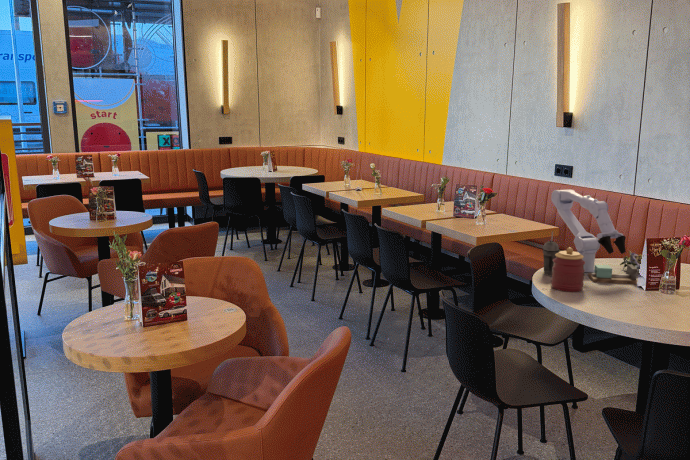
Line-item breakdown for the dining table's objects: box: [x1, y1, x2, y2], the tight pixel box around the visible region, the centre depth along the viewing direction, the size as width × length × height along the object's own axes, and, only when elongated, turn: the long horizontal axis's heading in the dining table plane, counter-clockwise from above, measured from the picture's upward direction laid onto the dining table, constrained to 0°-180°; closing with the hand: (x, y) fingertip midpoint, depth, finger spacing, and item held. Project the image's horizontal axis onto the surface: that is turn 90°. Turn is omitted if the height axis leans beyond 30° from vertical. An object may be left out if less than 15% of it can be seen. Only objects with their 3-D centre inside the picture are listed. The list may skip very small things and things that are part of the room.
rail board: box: [587, 263, 638, 285], centre depth 266 cm, size 18×10×6 cm, turn 80°
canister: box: [550, 246, 585, 293], centre depth 253 cm, size 13×13×18 cm
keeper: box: [593, 264, 613, 278], centre depth 266 cm, size 6×6×4 cm
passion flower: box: [619, 250, 643, 274], centre depth 280 cm, size 11×11×12 cm
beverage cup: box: [542, 231, 560, 277], centre depth 273 cm, size 7×7×20 cm
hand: (617, 252), depth 262 cm, fingers open, 7 cm apart
